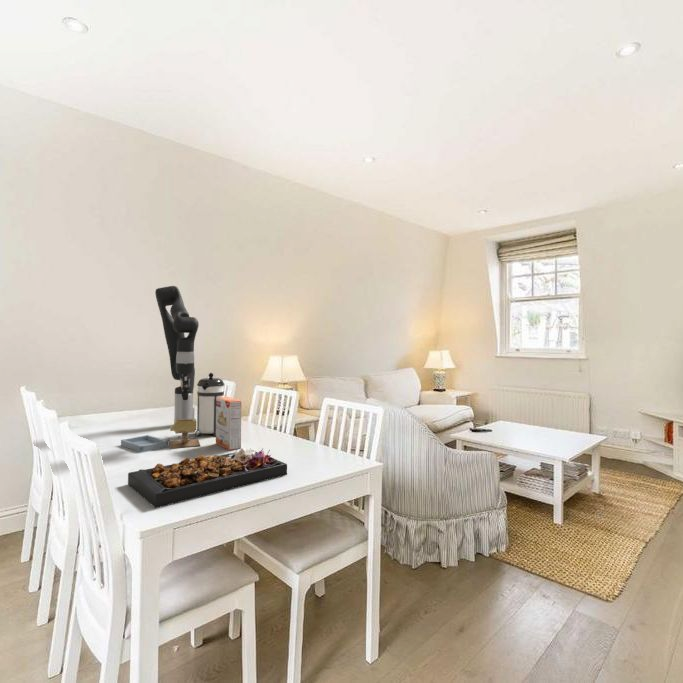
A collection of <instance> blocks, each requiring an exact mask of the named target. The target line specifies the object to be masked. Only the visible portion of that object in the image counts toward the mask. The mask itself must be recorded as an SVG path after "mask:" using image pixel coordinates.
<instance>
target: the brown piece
mask: <svg viewBox="0 0 683 683" xmlns="http://www.w3.org/2000/svg"><path fill="white" fill-rule="evenodd" d="M195 432H196V430H193V431H178V432H175V434H181V439H180V440H179V439H177V440H176V439H175V440H170V441H169V446H170V449H171V450H172V449H185V448H196V447H201V442H200V441H199V438H195V439H194V438H193V439H189V433H191V434H193V433H195Z"/></svg>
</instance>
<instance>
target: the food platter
mask: <svg viewBox="0 0 683 683" xmlns="http://www.w3.org/2000/svg"><path fill="white" fill-rule="evenodd" d="M238 450H239V451H238ZM269 453H270V449H269V450H268V452H267V453H266V454H265V451H264V448H262V449H261V450H260V451H258V452H257V451H256V450H254V449H253V450H252V448H245V447H243V446H241V448H238V449H236V450H235V451H234V452H230V453H224V454H220V455H219V454H214V455H213V456H211V455H207V456H206V455H202V454H199V455H198V456H196V457H194V459H190V457H186V458H184V459H182V460H181V461H180V462H177V463H172V464H167V465H163V464H162V463H157V464H156V465H155V466H154V467H152V468H147V469H143V468H142V469H141V468H140V469H138V470H137V471H131V472H128V474H127V485H128V486H129V487H130V488H131V487H132V488H131V489H132V490H134V491H135V492H136V493H137V492H138V493H139V495H140V496H141V498H143V499H144V498H145V499H144V500H146V501H147V502H148V503H149V504H150V505H151V504H152V505H151V506H152V507H154V509H157V508H156V507H158V508H161V507H166V506H168V504H169V505H172V503H173V504H176V503H180V502H184V501H189V500H193V499H196V498H200V497H204V496H209V495H213V494H216V493H220V492H224V491H227V490H231V489H232V490H233V489H236V488H238V487H239V488H240V487H244V486H247V485H252V484H255V483H259V482H260V483H261V482H263V481H267V479H268V480H271V479H275V478H279V476H280V477H283V475H284V476H286V475H288V464H287V463H286V462H284V461H280V460H278V459H277V458H274V457H273V456H271V455H272V454H270V455H269ZM138 493H137V494H138ZM160 506H161V507H160Z"/></svg>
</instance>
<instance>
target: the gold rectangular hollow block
mask: <svg viewBox="0 0 683 683" xmlns="http://www.w3.org/2000/svg"><path fill="white" fill-rule="evenodd" d="M169 426H170V432H178V431H193V430H195V431H197V419H196V418H194V419H181V420H174V419H173V425H169Z"/></svg>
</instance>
